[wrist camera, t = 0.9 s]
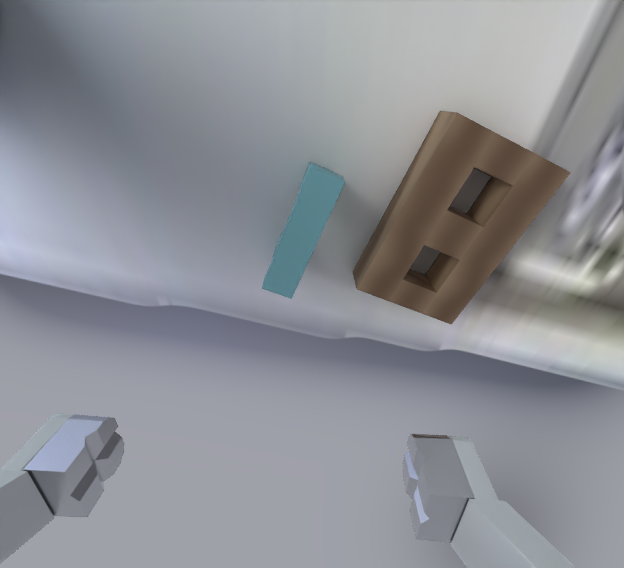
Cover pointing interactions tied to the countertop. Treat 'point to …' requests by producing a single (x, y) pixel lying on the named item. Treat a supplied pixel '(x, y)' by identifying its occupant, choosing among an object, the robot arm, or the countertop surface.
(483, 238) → the wooden board with holes
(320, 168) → the teal long block
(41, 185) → the countertop surface
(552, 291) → the countertop surface
